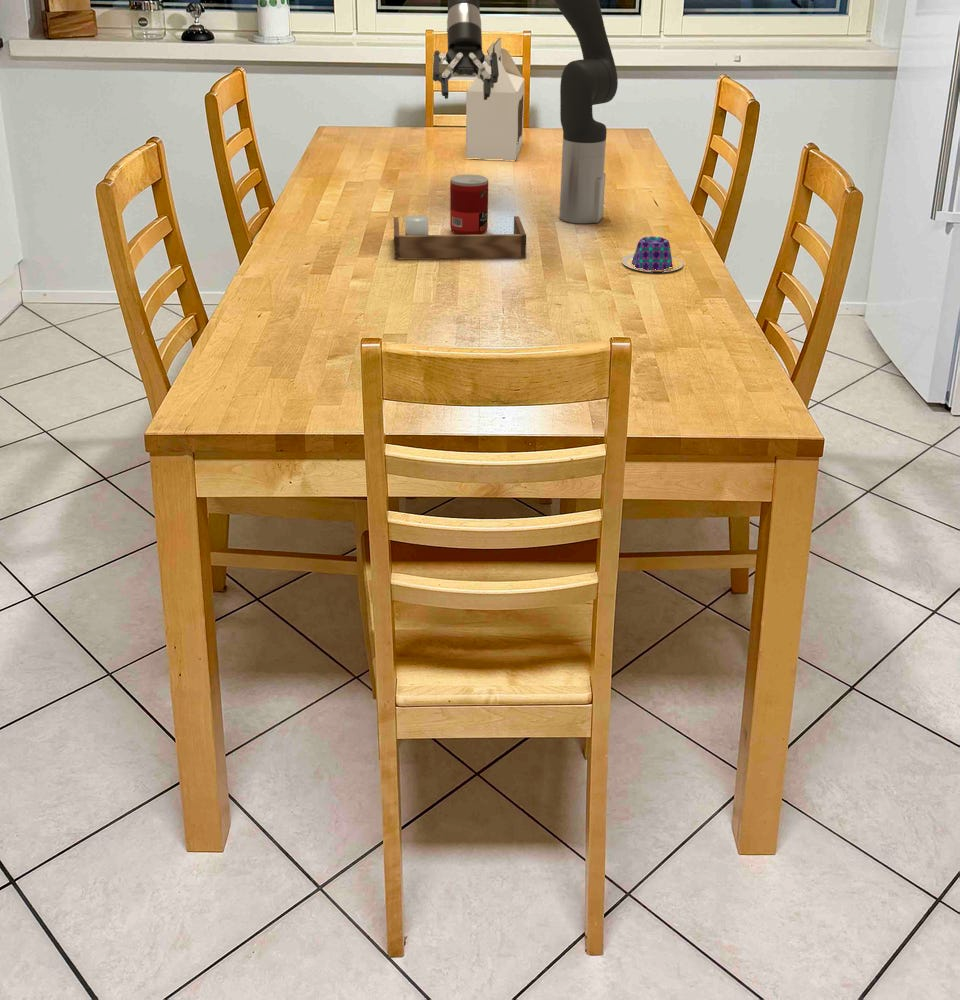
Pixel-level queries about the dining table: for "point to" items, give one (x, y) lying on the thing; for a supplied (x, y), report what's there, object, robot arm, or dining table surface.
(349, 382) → the dining table surface
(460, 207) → the canned food
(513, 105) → the gable box
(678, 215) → the dining table surface
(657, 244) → the patterned hat
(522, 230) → the u-shaped frame
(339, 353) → the dining table surface
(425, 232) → the grey rounded capsule
